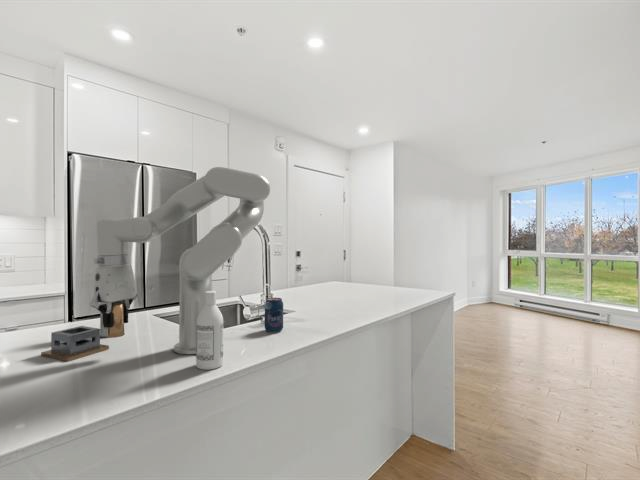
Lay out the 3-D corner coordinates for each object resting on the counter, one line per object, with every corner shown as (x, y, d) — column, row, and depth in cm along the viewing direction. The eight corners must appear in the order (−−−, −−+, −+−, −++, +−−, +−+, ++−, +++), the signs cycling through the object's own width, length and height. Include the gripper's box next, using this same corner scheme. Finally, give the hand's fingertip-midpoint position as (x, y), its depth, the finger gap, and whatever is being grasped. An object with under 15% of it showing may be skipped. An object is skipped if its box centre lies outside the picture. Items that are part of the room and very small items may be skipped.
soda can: (268, 334, 123) (268, 301, 123) (261, 329, 129) (262, 298, 129) (286, 331, 126) (286, 299, 127) (278, 327, 132) (278, 296, 132)
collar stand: (108, 349, 105) (109, 328, 105) (67, 361, 94) (67, 338, 94) (83, 344, 110) (83, 324, 110) (41, 355, 99) (41, 333, 99)
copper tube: (128, 334, 99) (126, 296, 99) (114, 338, 95) (113, 299, 95) (118, 333, 101) (116, 296, 100) (104, 337, 97) (103, 298, 97)
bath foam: (213, 359, 97) (214, 289, 97) (228, 365, 92) (228, 291, 92) (191, 366, 91) (191, 291, 91) (205, 372, 87) (205, 294, 87)
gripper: (93, 264, 88) (96, 334, 89) (147, 259, 104) (150, 318, 104) (74, 264, 91) (77, 331, 92) (130, 259, 107) (132, 317, 107)
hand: (116, 324), depth 98 cm, fingers closed on copper tube, 4 cm apart
